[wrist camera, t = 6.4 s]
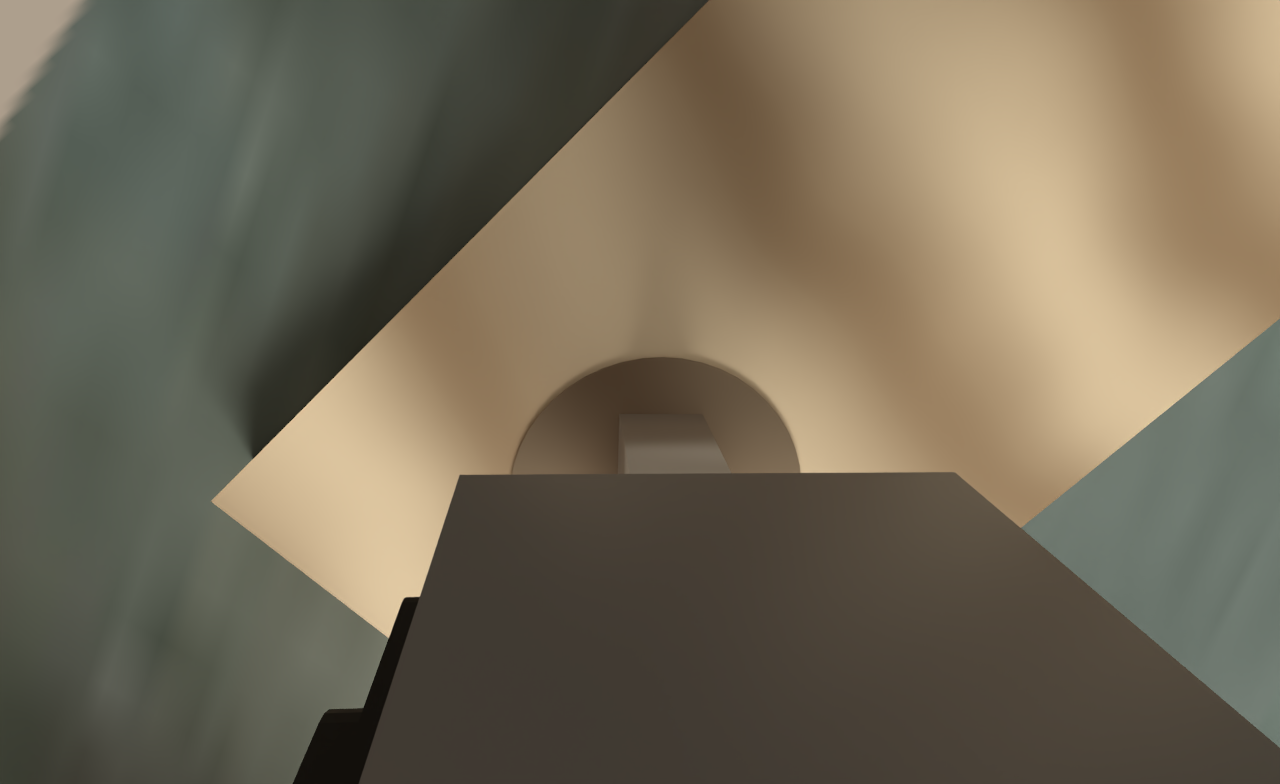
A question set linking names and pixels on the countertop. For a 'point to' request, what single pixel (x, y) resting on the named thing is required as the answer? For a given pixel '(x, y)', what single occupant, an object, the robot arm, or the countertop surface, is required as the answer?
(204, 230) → the countertop surface
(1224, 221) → the light wood flat block
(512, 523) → the grey and orange block
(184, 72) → the countertop surface
